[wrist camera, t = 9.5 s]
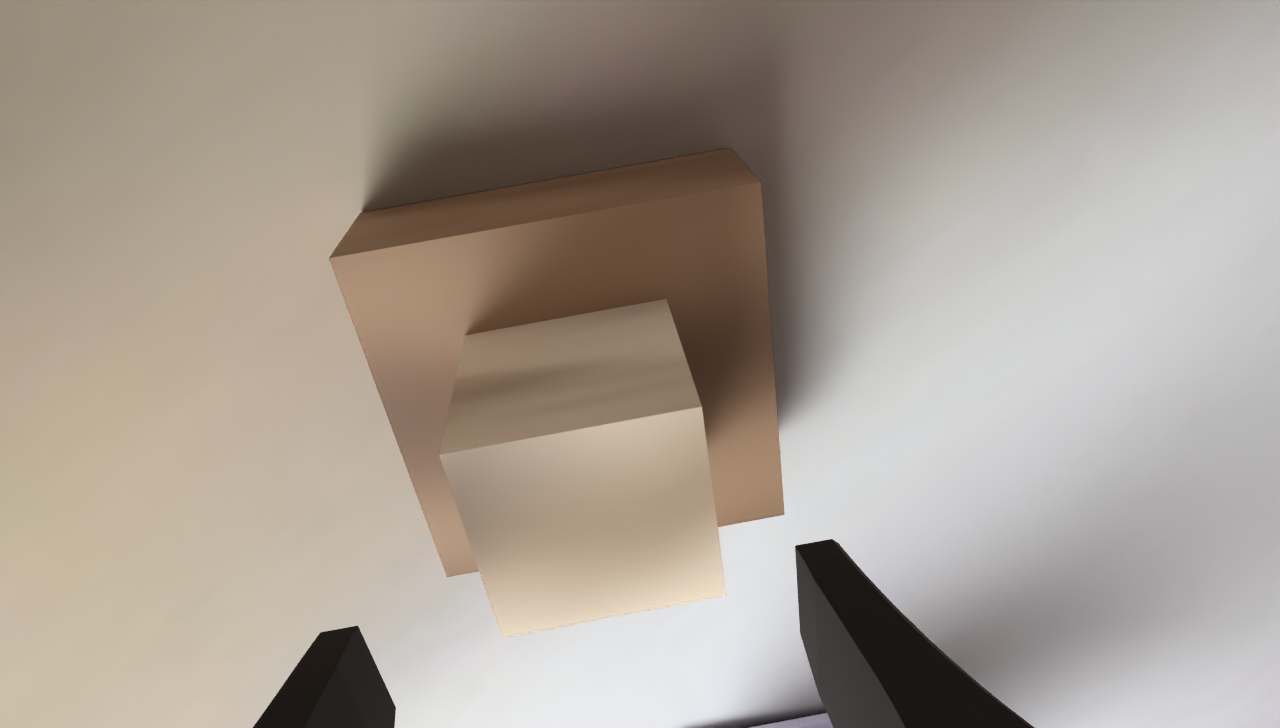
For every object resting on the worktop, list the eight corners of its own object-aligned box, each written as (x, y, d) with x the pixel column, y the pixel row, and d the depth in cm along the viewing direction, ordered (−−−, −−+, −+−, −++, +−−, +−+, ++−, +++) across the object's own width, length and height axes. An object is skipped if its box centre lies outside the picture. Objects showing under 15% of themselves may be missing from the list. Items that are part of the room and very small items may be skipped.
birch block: (690, 461, 19) (726, 596, 15) (511, 495, 19) (502, 638, 15) (666, 299, 17) (702, 406, 13) (464, 335, 17) (439, 454, 13)
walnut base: (757, 449, 23) (784, 514, 20) (458, 503, 23) (447, 577, 20) (730, 147, 18) (761, 181, 16) (360, 213, 18) (329, 258, 16)
